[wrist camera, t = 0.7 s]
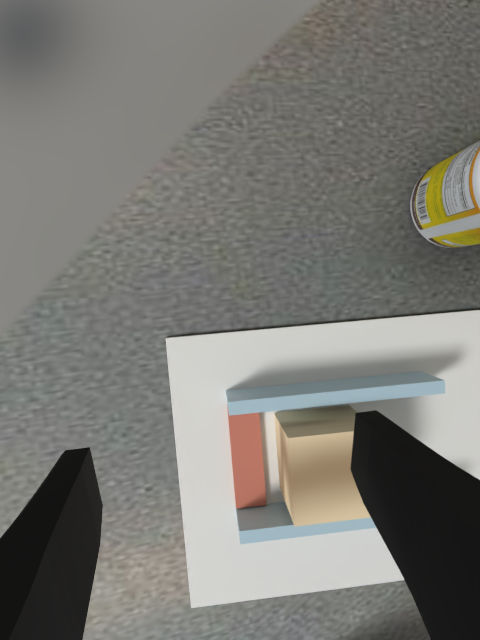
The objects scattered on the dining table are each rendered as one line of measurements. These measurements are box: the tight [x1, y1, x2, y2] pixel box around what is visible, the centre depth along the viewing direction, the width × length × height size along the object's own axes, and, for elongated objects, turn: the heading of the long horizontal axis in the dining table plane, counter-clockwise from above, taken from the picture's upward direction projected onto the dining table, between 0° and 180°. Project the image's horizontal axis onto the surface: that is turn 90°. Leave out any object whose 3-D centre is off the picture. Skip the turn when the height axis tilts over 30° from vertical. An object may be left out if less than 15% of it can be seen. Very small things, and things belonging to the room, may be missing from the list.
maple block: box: [274, 405, 371, 527], centre depth 28 cm, size 5×5×5 cm
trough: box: [226, 371, 445, 544], centre depth 29 cm, size 9×13×3 cm, turn 95°
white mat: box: [166, 310, 480, 608], centre depth 31 cm, size 18×24×1 cm
